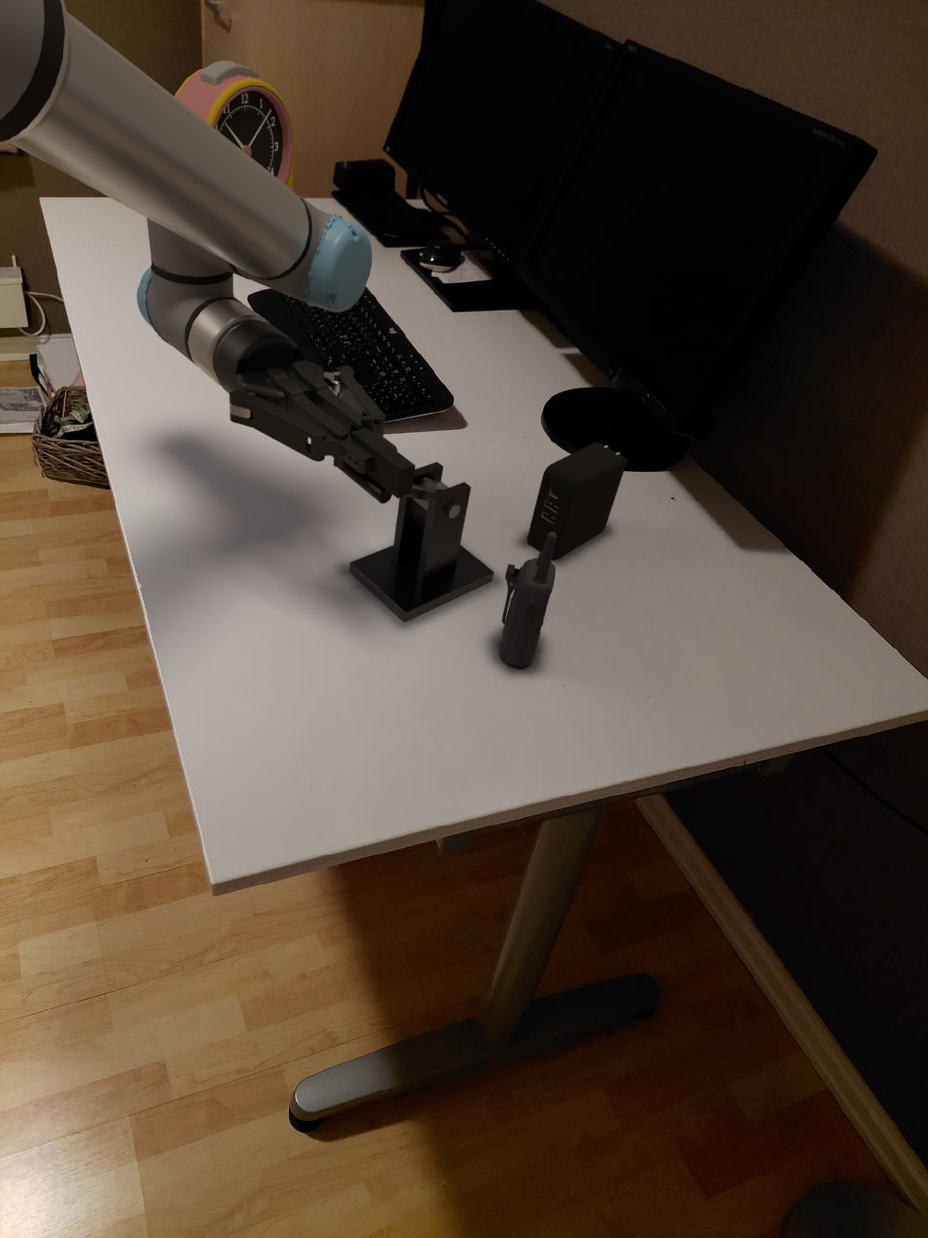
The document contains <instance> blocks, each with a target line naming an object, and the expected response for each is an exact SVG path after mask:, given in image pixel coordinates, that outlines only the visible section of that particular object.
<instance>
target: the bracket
mask: <svg viewBox="0 0 928 1238" xmlns="http://www.w3.org/2000/svg"><path fill="white" fill-rule="evenodd" d="M443 472H444V465H443V464H441V463H440V462H438V461H435V462H432V463H429V464H426V465H423V466H420V467H418V468H415V472H414V480H413V484H416V485H420V484H421V482H422V480H423V478H424V477H425V478H429V479H433V480H437V481H440V482H442V478H443ZM448 487H449V488H446V489H444V490H441V491H438V492H436V493H433V494H430V496H429V503H428V509H427V510H426V509H425V508H423V507H422V506H421V505H420V504H418V503H417V502H416V501H415V500H413V498H411V497H407V496H403V497H401V498H398V505H397V506H398V508H397V515H396V522H395V529H394V530H395V531H394V539H393V544H392V545H390V546H387V547H385V548H382V549H380V550H377V551H375V552H373V553H370V554H367V555H364V556H363V557H360V558H357V559H355V560H352V561H350V562H349V567H348V572H349V573H350V574H351V575H352V576H354V577H355V578H356V579H357V580H358V581H359V582H360V583H361V584H362V585H364V587H365V588H367V590H369V591H370V592H371V593H372V594H373V595H374V596H375V597H377V599H378V600H380V601H381V602H382V603H383V604H384V605H385V606H386V607H387V608H389V610H390V611H392V613H394V614H395V615H396V616H397V617H398V618H399V619H401V620H402V622H407V621H409V620H411V619H414V618H415V617H417V616H419V615H422V614H424V613H426V612H428V611H430V610H432V609H434V608H437V607H438V606H441V605H443V604H446V603H447V602H449V601H451V600H453V599H455V598H457V597H460V596H462V595H464V594H466V593H468V592H471V591H472V590H475V589H477V588H479V587H481V586H483V585H485V584H488V583H490V582H491V581H493V578H494V573H495V571H493V569H491V568H490V567H489V566H487V565H486V564H485V563H484V562H482V560H480V559H479V558H478V557H476V556H475V554H473V553H471V552H470V551H469V550H468V549H466V548H465V547H464V546H463V545H461V542H462V539H463V533H464V527H465V523H466V522H465V520H466V516H467V512H468V506H469V501H470V496H471V492H472V491H471V490H472V485H470V484H468V483H467V482H466V481H463V482H460V483H458V484H455V485H452V486H448Z"/></svg>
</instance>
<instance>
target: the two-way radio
mask: <svg viewBox="0 0 928 1238" xmlns="http://www.w3.org/2000/svg"><path fill="white" fill-rule="evenodd" d="M556 538H557V535H556V533H555V532H550V533H549V534H548V536H547V539H546V542H545V545H544V548H543V550H541V551H540V553H539V554H538V557H534V558H531V559H528V560H525V561H524V563H523V565H522V566H520V567H519V568H517V567H516V564H512V563H508V564H507V567H506V571H505V575H504V576H505V577H504V578H505V582H506V585H507V593H506V598H505V602H504V607H503V611H502V615H501V623H502V624H503V629H502V636H501V640H500V647H499V648H500V649H499V655H500V657H501V658H502V659H503V660H504V661H505V662H506V663H508V665H511V666H514V667H520V668H521V667H526V666H529V665H530V664H531V662H532V660H533V658H534V657H533V656H534V655H535V653H536V649H537V647H538V642H539V640H540V637H541V630H542V628H543V625H544V620H545V617H546V613H547V607H548V604H549V601H550V597H551V594H552V592H553V589H554V586H555V581H556V572H557V571H556V570H557V569H556V566H555V563H553V561H552V559H553V557H552V556H553V551H554V547H555V543H556Z"/></svg>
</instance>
